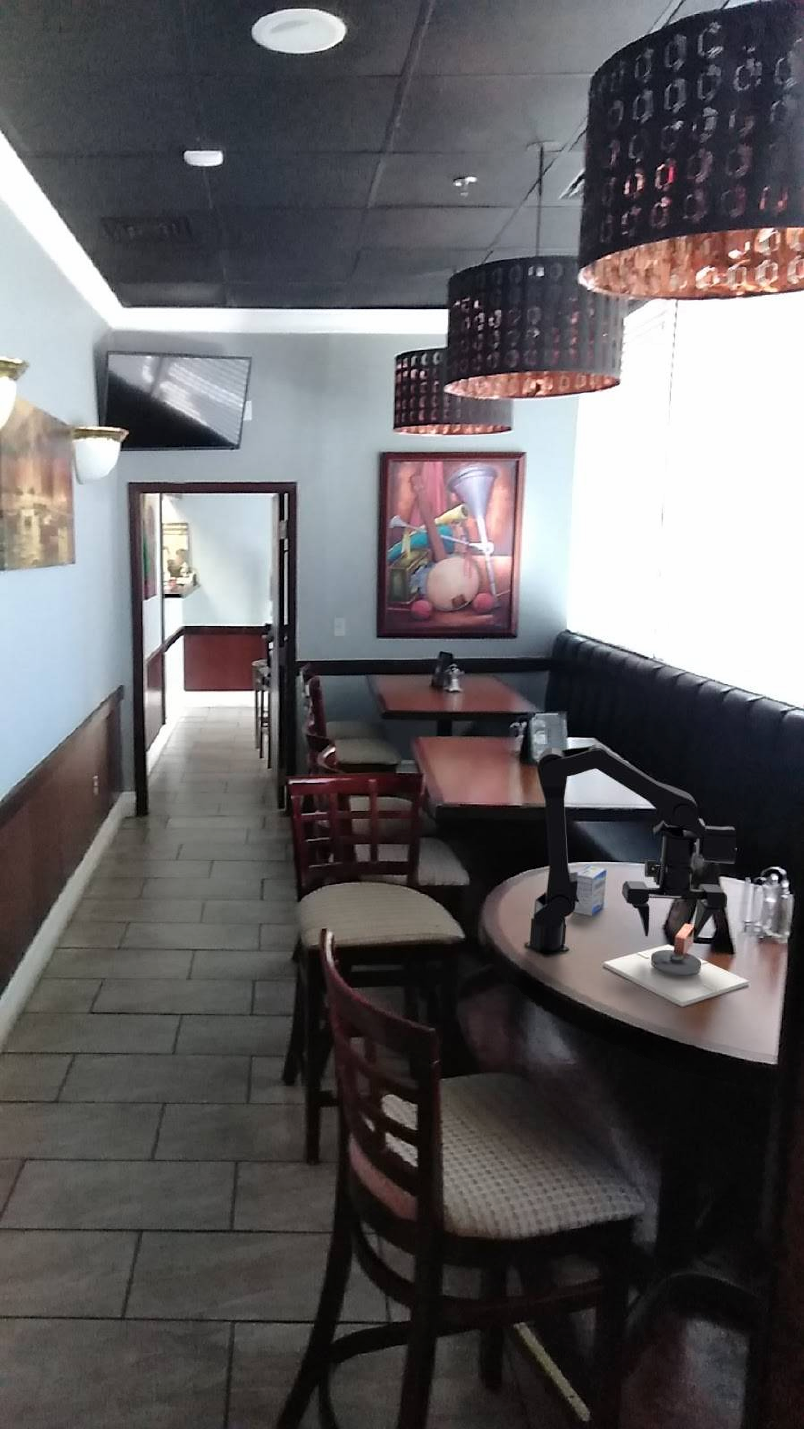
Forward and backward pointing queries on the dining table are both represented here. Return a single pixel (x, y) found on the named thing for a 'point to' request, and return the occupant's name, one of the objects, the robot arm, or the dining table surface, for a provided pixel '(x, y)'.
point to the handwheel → (678, 956)
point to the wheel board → (675, 978)
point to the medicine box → (590, 890)
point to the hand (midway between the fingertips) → (670, 936)
